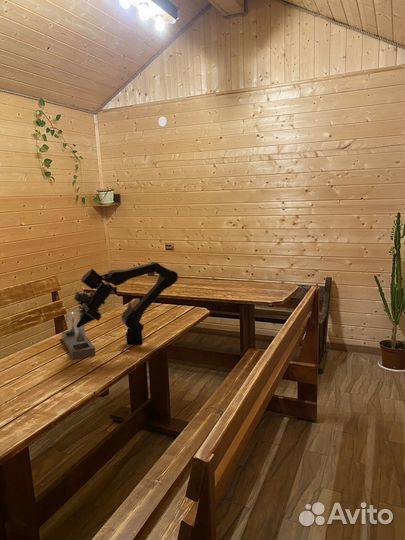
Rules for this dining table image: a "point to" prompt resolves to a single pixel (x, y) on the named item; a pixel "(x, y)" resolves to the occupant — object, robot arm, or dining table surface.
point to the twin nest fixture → (78, 346)
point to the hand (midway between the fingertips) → (75, 325)
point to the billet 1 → (70, 323)
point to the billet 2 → (81, 330)
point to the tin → (133, 302)
